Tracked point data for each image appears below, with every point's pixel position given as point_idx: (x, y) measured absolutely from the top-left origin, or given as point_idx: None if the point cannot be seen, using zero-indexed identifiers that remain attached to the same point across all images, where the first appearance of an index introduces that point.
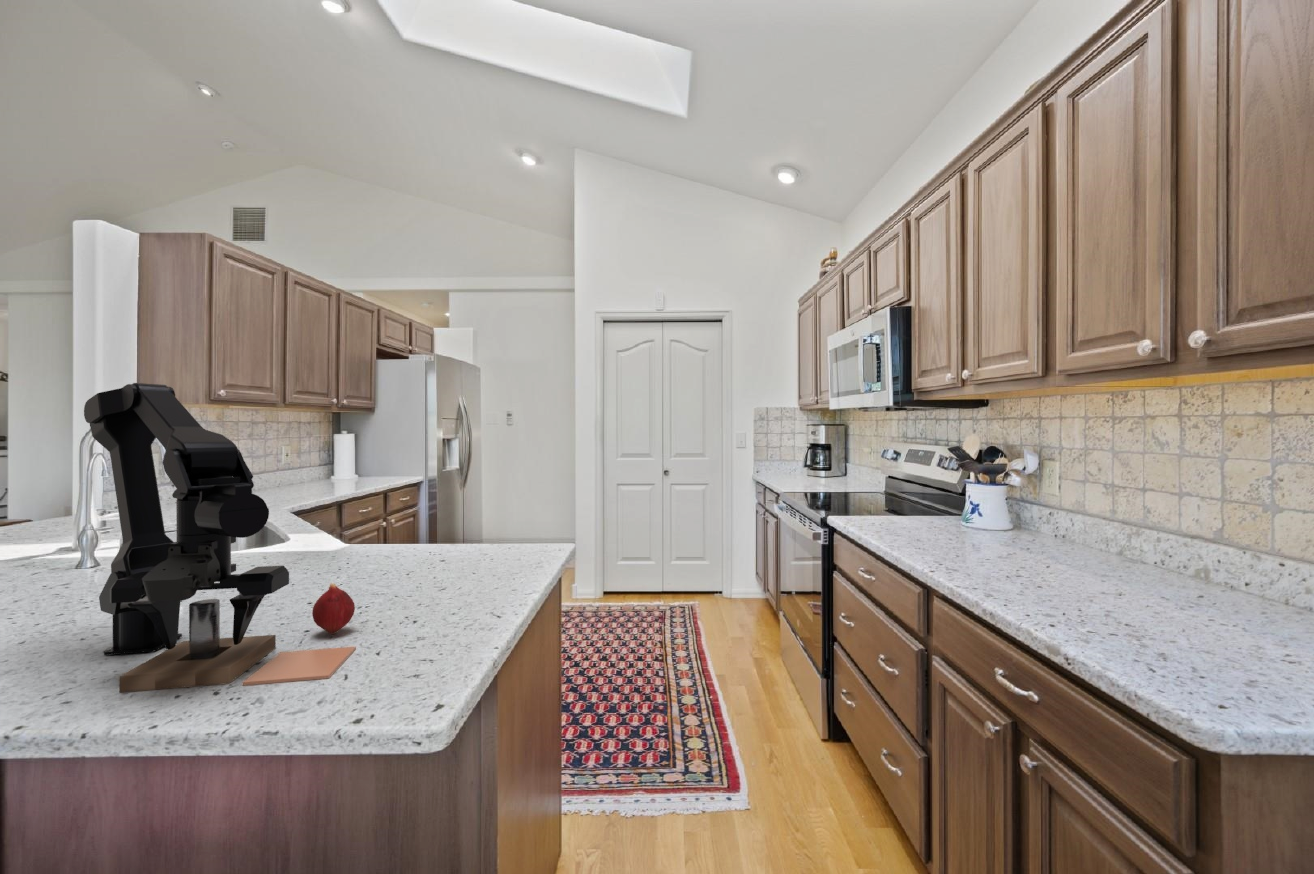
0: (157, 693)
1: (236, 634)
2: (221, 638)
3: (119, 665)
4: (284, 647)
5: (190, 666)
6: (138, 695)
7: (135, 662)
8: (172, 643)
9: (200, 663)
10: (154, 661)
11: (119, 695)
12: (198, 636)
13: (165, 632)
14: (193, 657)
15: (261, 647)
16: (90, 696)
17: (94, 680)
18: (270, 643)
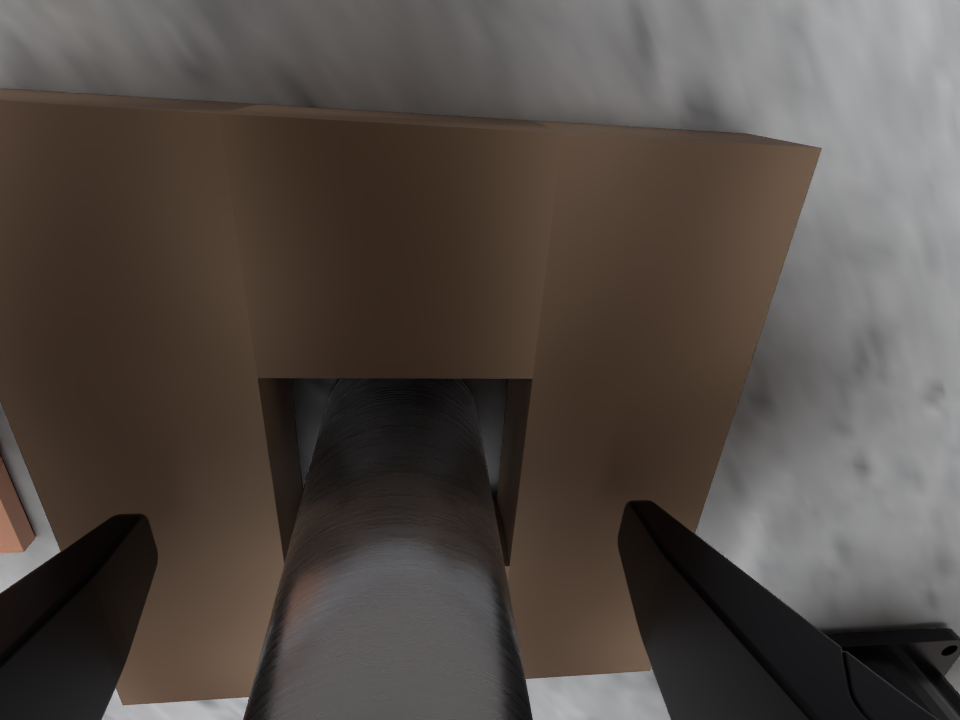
0: (478, 32)
1: (47, 579)
2: None
3: (863, 528)
4: None
5: (337, 235)
6: (599, 32)
7: (805, 549)
8: (635, 546)
9: (291, 287)
10: (679, 405)
11: (728, 76)
12: (380, 539)
13: (720, 602)
14: (430, 417)
15: None
16: (895, 116)
17: (927, 370)
18: None
